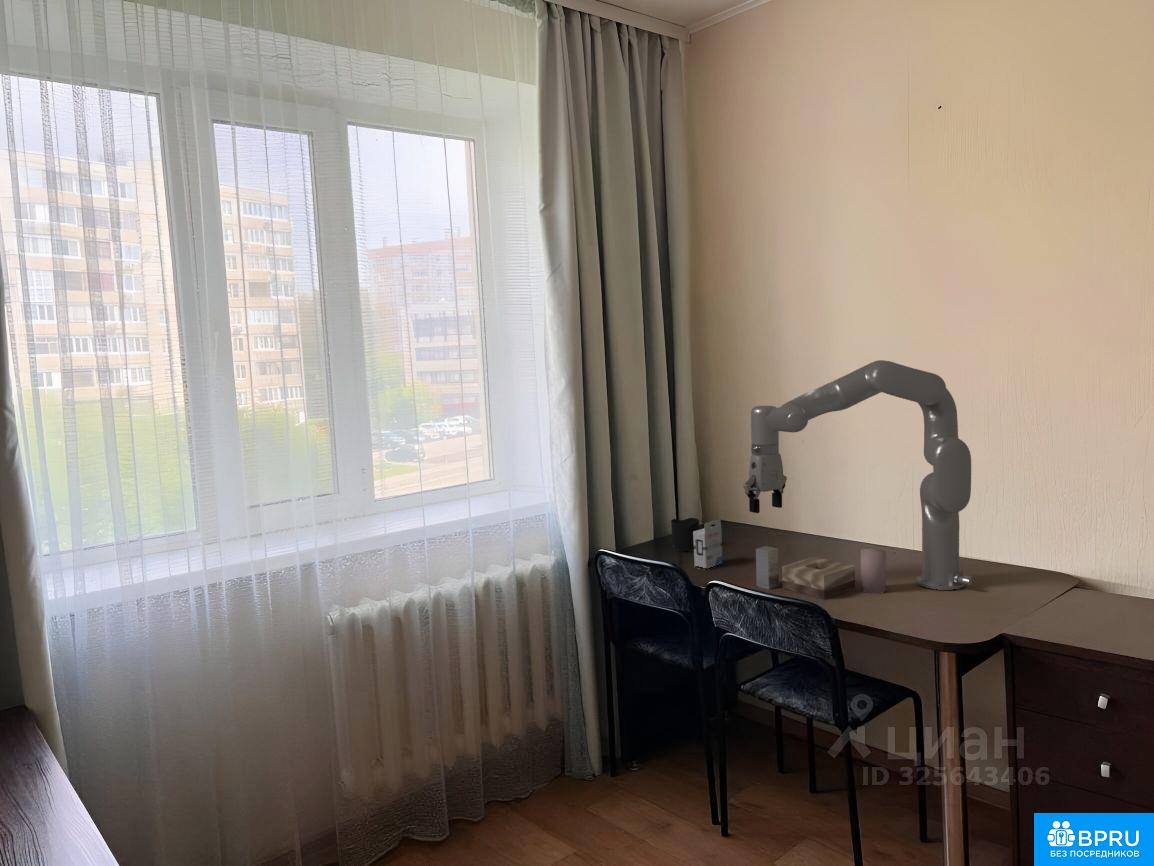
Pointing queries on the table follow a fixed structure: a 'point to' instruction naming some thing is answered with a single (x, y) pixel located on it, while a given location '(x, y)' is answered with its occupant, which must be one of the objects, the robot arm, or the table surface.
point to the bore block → (818, 577)
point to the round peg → (873, 570)
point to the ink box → (708, 545)
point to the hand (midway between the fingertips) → (765, 509)
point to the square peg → (767, 567)
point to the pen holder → (684, 533)
